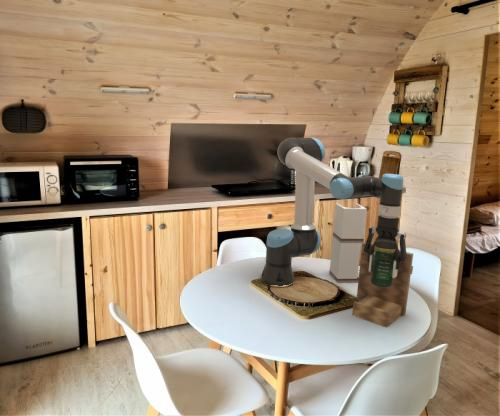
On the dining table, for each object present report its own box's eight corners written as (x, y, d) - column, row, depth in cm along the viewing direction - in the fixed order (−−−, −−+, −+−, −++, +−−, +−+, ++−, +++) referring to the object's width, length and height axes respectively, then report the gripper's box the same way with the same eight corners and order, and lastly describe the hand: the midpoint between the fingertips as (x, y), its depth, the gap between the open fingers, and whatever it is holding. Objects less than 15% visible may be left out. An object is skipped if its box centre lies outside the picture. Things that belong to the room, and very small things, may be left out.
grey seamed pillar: (359, 282, 203) (366, 208, 195) (337, 283, 201) (344, 208, 194) (350, 273, 214) (357, 203, 207) (329, 274, 212) (335, 203, 205)
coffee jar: (392, 289, 162) (397, 241, 158) (370, 286, 165) (375, 238, 161) (392, 280, 171) (397, 234, 167) (371, 277, 174) (376, 232, 170)
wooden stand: (340, 311, 173) (346, 250, 167) (360, 298, 186) (366, 241, 180) (389, 328, 160) (397, 263, 155) (407, 313, 173) (414, 252, 168)
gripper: (357, 212, 166) (352, 269, 171) (414, 223, 153) (406, 284, 158) (366, 209, 172) (360, 264, 177) (421, 219, 159) (414, 278, 163)
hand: (382, 273), depth 167 cm, fingers closed on coffee jar, 9 cm apart
